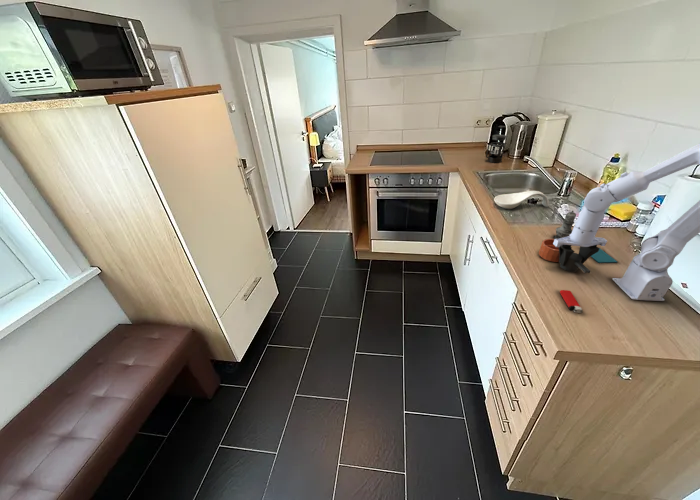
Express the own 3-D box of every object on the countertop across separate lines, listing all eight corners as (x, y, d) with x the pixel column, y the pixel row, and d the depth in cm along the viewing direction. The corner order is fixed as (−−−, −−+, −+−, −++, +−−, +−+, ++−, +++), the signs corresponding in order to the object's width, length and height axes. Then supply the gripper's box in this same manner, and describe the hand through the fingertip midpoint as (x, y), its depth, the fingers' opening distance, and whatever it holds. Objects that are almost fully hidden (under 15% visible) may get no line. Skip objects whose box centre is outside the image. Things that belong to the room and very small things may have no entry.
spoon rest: (497, 211, 133) (501, 197, 129) (489, 201, 143) (492, 188, 139) (551, 210, 130) (557, 196, 127) (539, 200, 140) (543, 186, 137)
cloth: (598, 263, 96) (598, 262, 96) (581, 248, 103) (581, 247, 103) (617, 262, 96) (617, 261, 95) (598, 248, 103) (598, 247, 103)
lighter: (571, 290, 83) (583, 310, 77) (570, 294, 84) (582, 313, 77) (560, 289, 84) (571, 308, 77) (559, 293, 85) (570, 312, 78)
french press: (498, 159, 204) (506, 124, 192) (505, 162, 196) (513, 126, 184) (482, 160, 204) (488, 125, 192) (488, 163, 196) (495, 127, 184)
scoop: (556, 263, 97) (561, 251, 94) (571, 263, 96) (576, 251, 94) (575, 281, 88) (580, 269, 86) (591, 281, 88) (597, 269, 86)
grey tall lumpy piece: (554, 233, 113) (564, 205, 107) (572, 237, 110) (583, 209, 104) (551, 239, 110) (562, 211, 103) (569, 244, 106) (582, 214, 100)
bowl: (569, 263, 96) (575, 251, 94) (543, 262, 98) (548, 250, 95) (558, 250, 103) (563, 239, 100) (534, 250, 104) (538, 238, 102)
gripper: (601, 220, 89) (585, 256, 97) (553, 222, 90) (540, 257, 98) (619, 231, 83) (600, 268, 91) (567, 232, 84) (552, 269, 92)
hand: (570, 264), depth 94 cm, fingers closed on scoop, 5 cm apart
